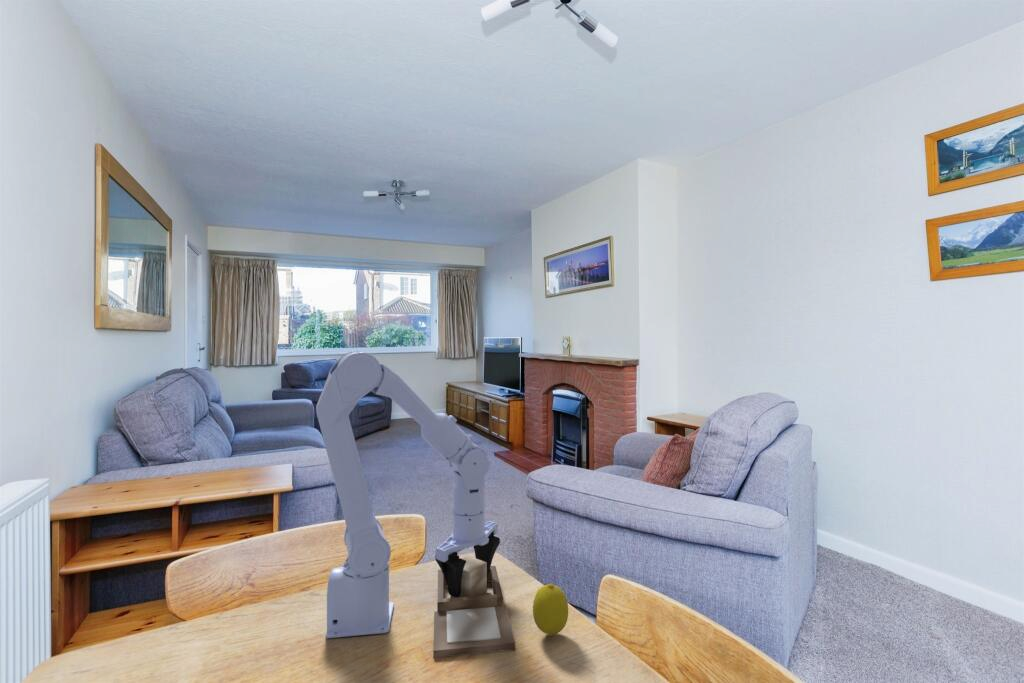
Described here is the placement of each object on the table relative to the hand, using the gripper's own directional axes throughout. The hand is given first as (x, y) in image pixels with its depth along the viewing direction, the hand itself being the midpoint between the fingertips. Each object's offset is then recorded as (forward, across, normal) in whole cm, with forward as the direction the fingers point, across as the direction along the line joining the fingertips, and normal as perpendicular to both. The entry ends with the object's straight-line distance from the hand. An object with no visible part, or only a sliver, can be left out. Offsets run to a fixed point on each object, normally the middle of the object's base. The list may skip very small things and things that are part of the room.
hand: (468, 585), depth 83 cm
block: (+2, 0, 0) cm, 2 cm away
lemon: (+2, -1, -18) cm, 18 cm away
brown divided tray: (+2, -3, -3) cm, 5 cm away
